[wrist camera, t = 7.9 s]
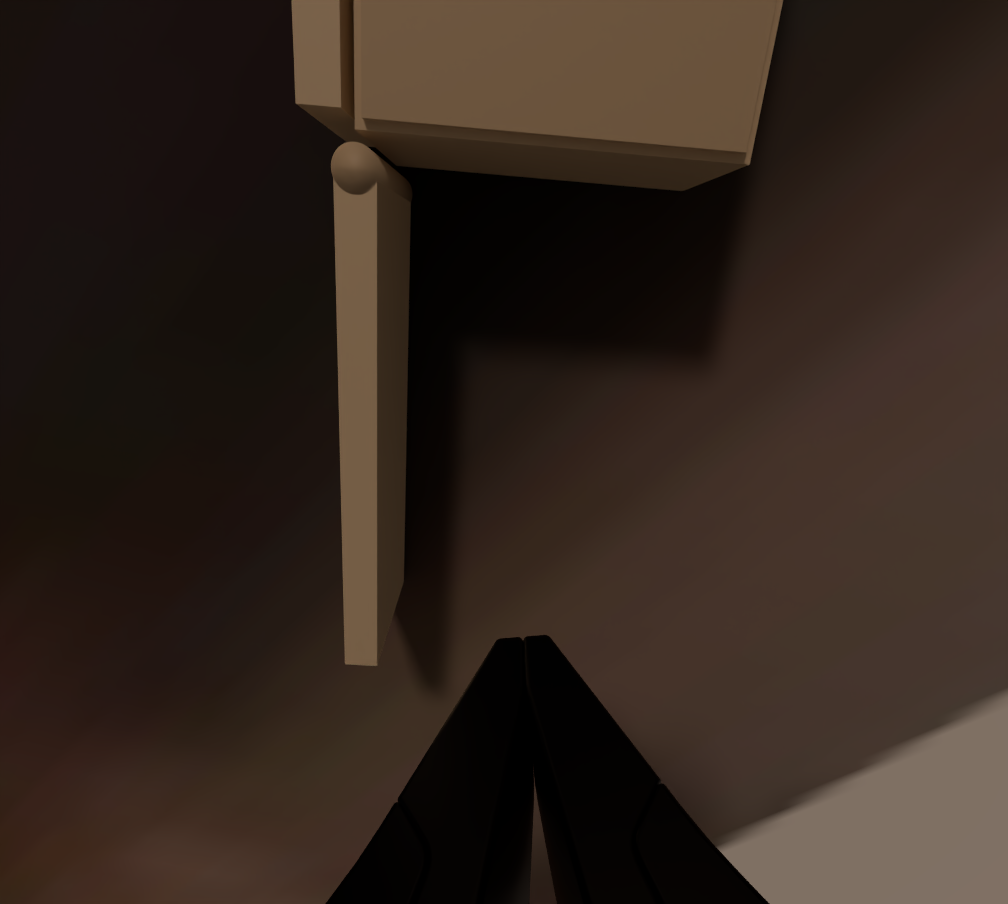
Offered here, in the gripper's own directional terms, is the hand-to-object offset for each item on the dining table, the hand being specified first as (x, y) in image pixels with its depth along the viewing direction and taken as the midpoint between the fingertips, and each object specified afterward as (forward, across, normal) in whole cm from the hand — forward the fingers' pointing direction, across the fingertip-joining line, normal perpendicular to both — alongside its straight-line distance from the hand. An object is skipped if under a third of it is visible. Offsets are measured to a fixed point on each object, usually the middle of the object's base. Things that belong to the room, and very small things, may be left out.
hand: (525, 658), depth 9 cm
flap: (+12, +4, -2) cm, 12 cm away
